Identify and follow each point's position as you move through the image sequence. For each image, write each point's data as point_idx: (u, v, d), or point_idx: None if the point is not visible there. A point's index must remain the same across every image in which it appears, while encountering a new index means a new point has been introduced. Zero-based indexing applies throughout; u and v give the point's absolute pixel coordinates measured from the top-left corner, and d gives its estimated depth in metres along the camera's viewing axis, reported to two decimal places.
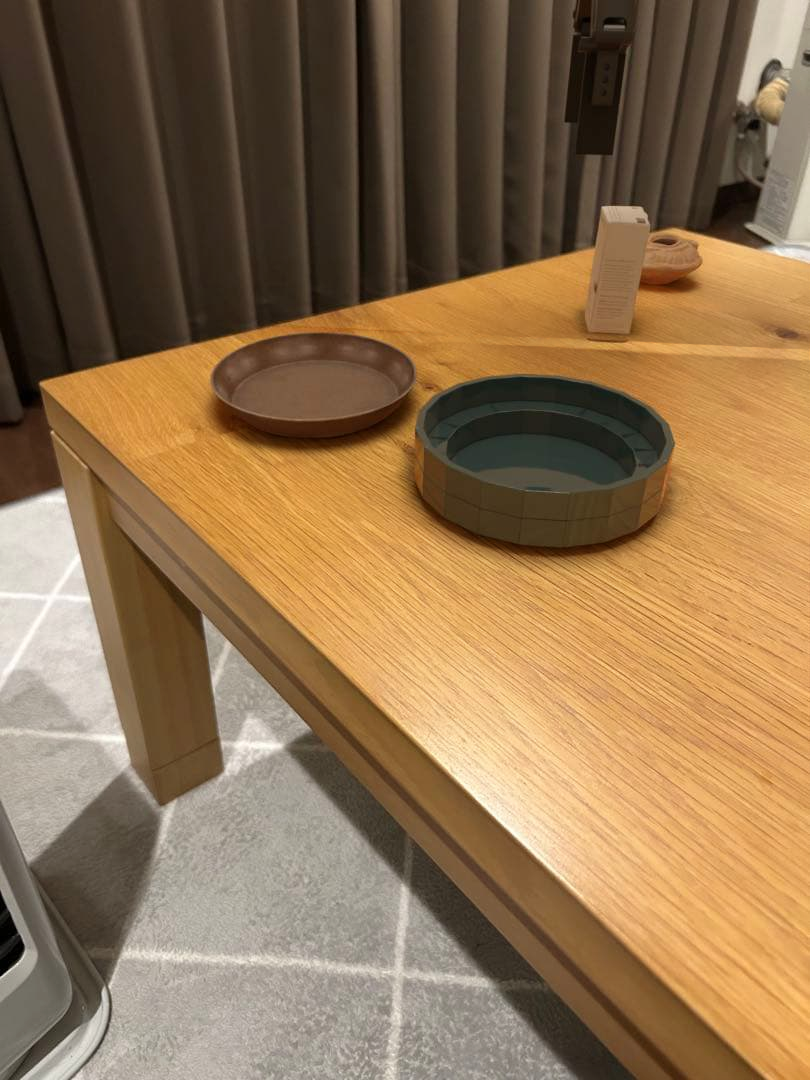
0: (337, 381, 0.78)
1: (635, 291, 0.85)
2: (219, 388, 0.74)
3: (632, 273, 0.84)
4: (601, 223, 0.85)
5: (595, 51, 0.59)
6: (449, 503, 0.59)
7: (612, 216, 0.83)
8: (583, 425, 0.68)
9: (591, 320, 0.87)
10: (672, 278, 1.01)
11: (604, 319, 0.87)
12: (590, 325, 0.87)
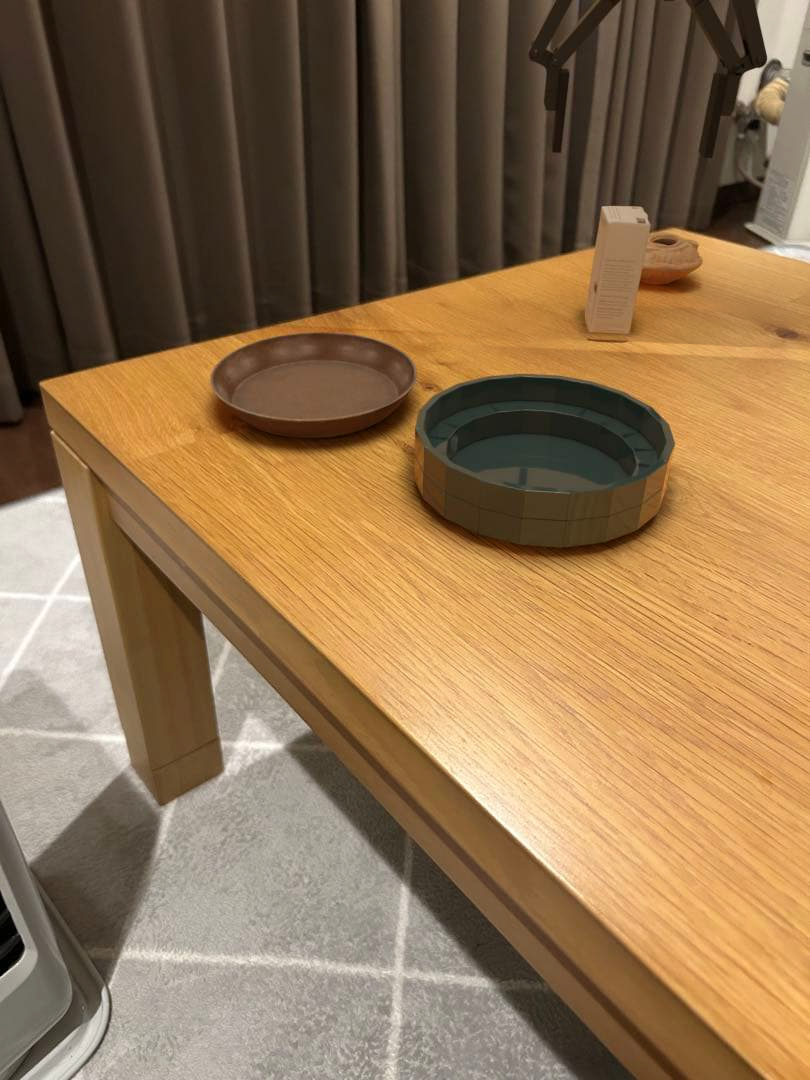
0: (337, 381, 0.78)
1: (635, 291, 0.85)
2: (219, 388, 0.74)
3: (632, 273, 0.84)
4: (601, 223, 0.85)
5: None
6: (449, 503, 0.59)
7: (612, 216, 0.83)
8: (583, 425, 0.68)
9: (591, 320, 0.87)
10: (672, 278, 1.01)
11: (604, 319, 0.87)
12: (590, 325, 0.87)
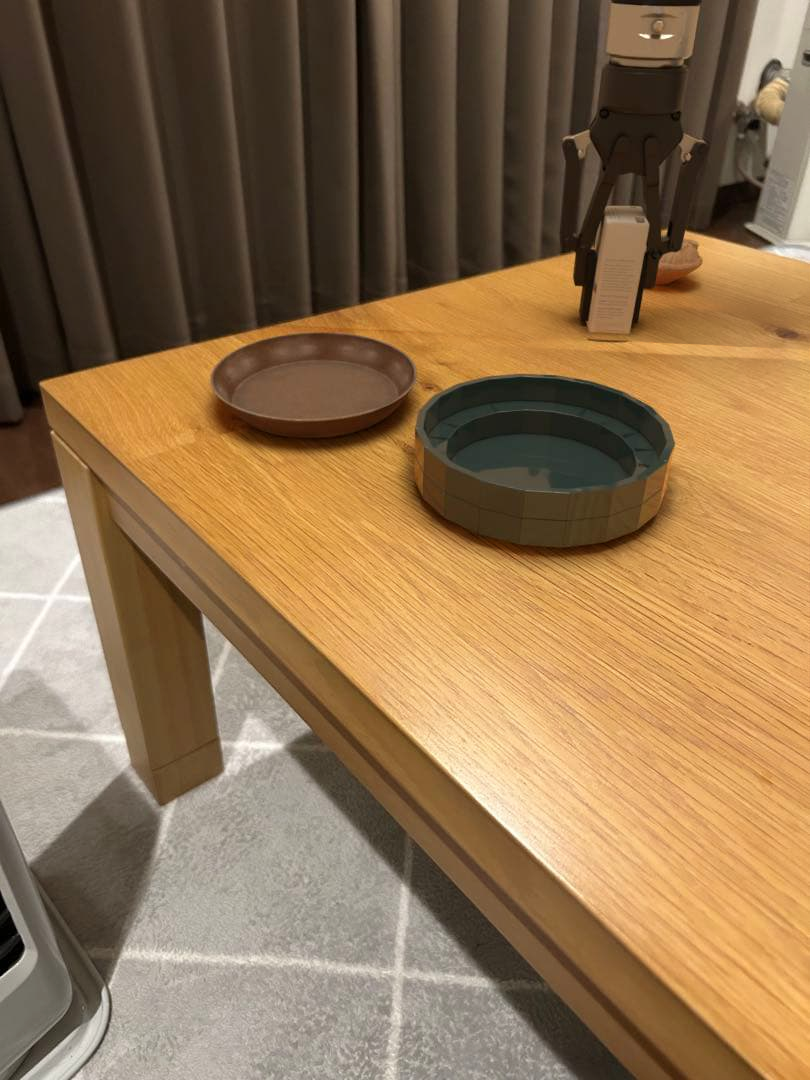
0: (337, 381, 0.78)
1: (635, 291, 0.85)
2: (219, 388, 0.74)
3: (632, 273, 0.84)
4: (600, 223, 0.85)
5: (654, 257, 0.85)
6: (449, 503, 0.59)
7: (611, 216, 0.83)
8: (583, 425, 0.68)
9: (591, 320, 0.87)
10: (672, 278, 1.01)
11: (604, 319, 0.87)
12: (590, 325, 0.87)
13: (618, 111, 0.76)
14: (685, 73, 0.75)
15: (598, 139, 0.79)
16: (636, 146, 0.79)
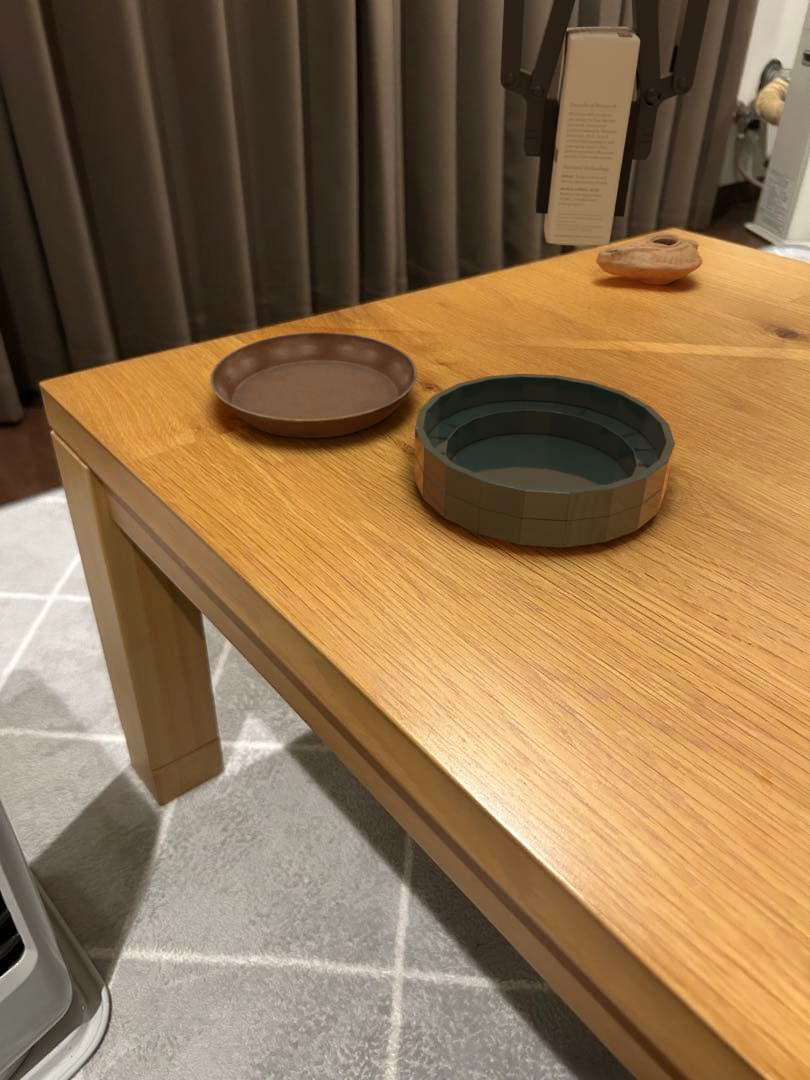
0: (337, 381, 0.78)
1: (618, 158, 0.54)
2: (219, 388, 0.74)
3: (613, 127, 0.53)
4: (564, 53, 0.54)
5: None
6: (449, 503, 0.59)
7: (578, 32, 0.51)
8: (583, 425, 0.68)
9: (551, 209, 0.56)
10: (672, 278, 1.01)
11: (571, 208, 0.56)
12: (550, 218, 0.56)
13: None
14: None
15: None
16: None
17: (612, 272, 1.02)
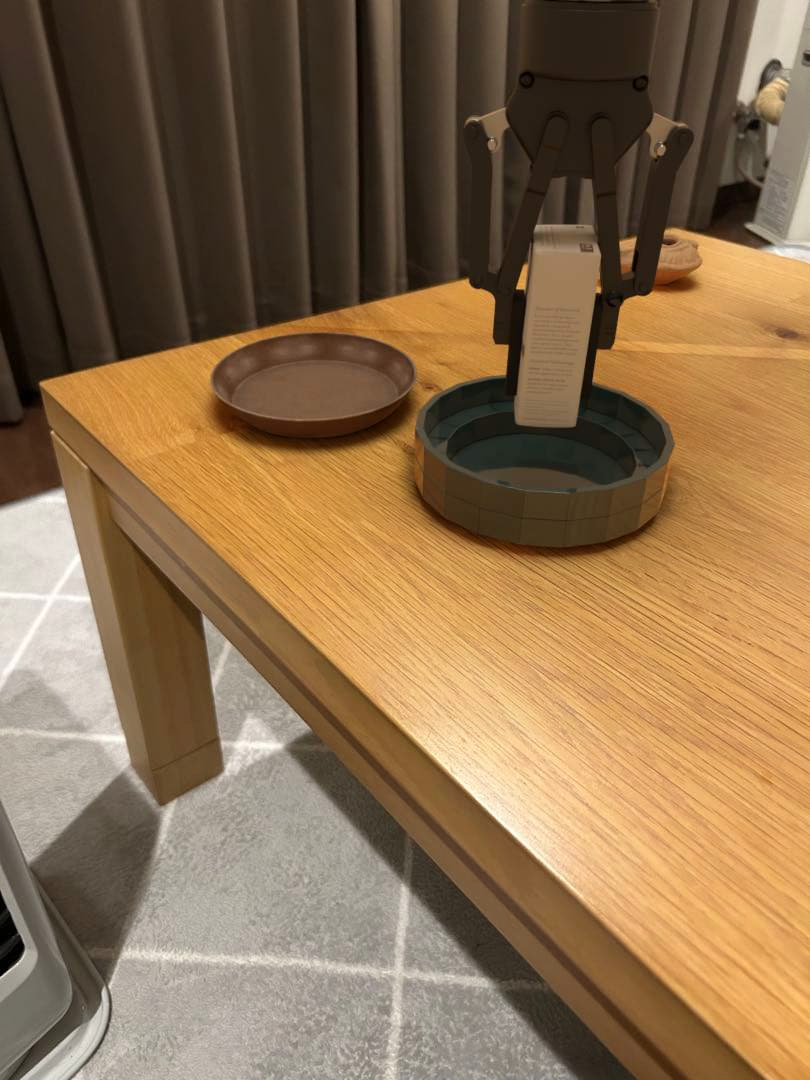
0: (337, 381, 0.78)
1: (583, 354, 0.56)
2: (219, 388, 0.74)
3: (577, 328, 0.55)
4: None
5: None
6: (449, 503, 0.59)
7: (542, 241, 0.54)
8: (583, 425, 0.68)
9: (519, 396, 0.58)
10: (672, 278, 1.01)
11: (538, 395, 0.58)
12: (518, 403, 0.58)
13: (546, 75, 0.47)
14: (653, 12, 0.46)
15: (519, 122, 0.50)
16: (579, 133, 0.50)
17: None
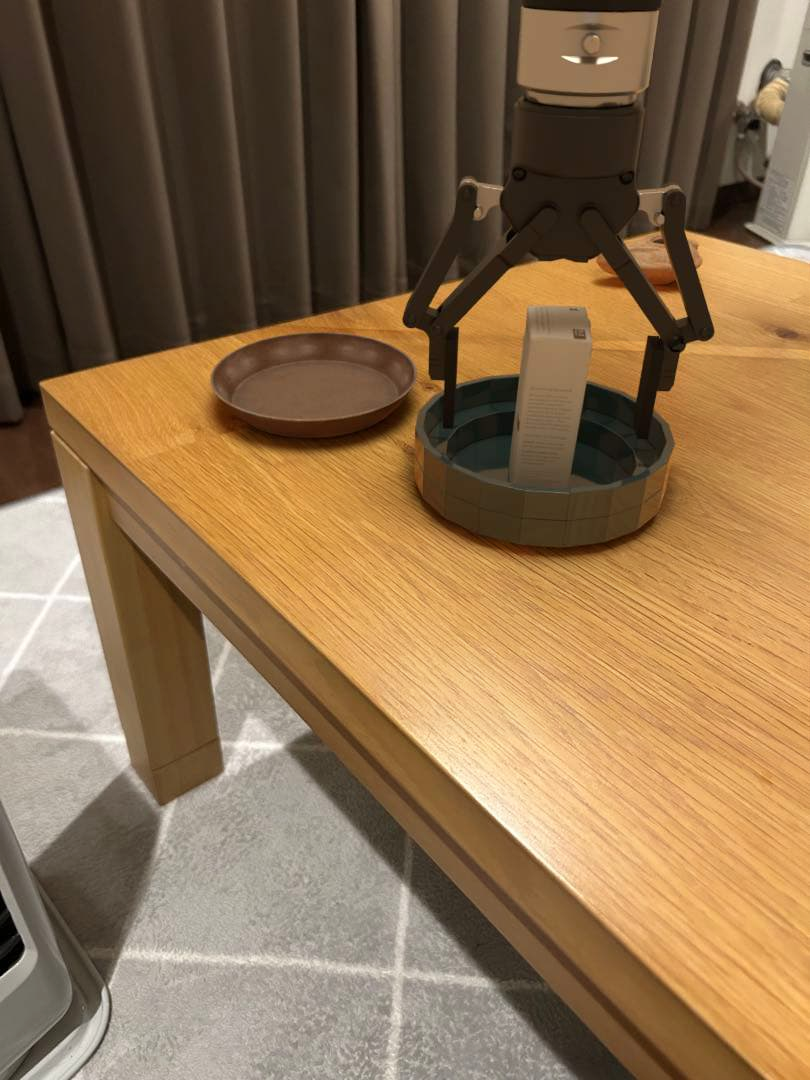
0: (337, 381, 0.78)
1: (574, 430, 0.59)
2: (219, 388, 0.74)
3: (569, 406, 0.58)
4: (526, 331, 0.59)
5: None
6: (449, 503, 0.59)
7: (538, 325, 0.57)
8: (583, 425, 0.68)
9: (514, 466, 0.61)
10: (672, 278, 1.01)
11: (532, 466, 0.61)
12: (513, 472, 0.61)
13: (537, 172, 0.50)
14: (638, 115, 0.48)
15: (509, 207, 0.53)
16: (570, 222, 0.53)
17: (612, 272, 1.02)
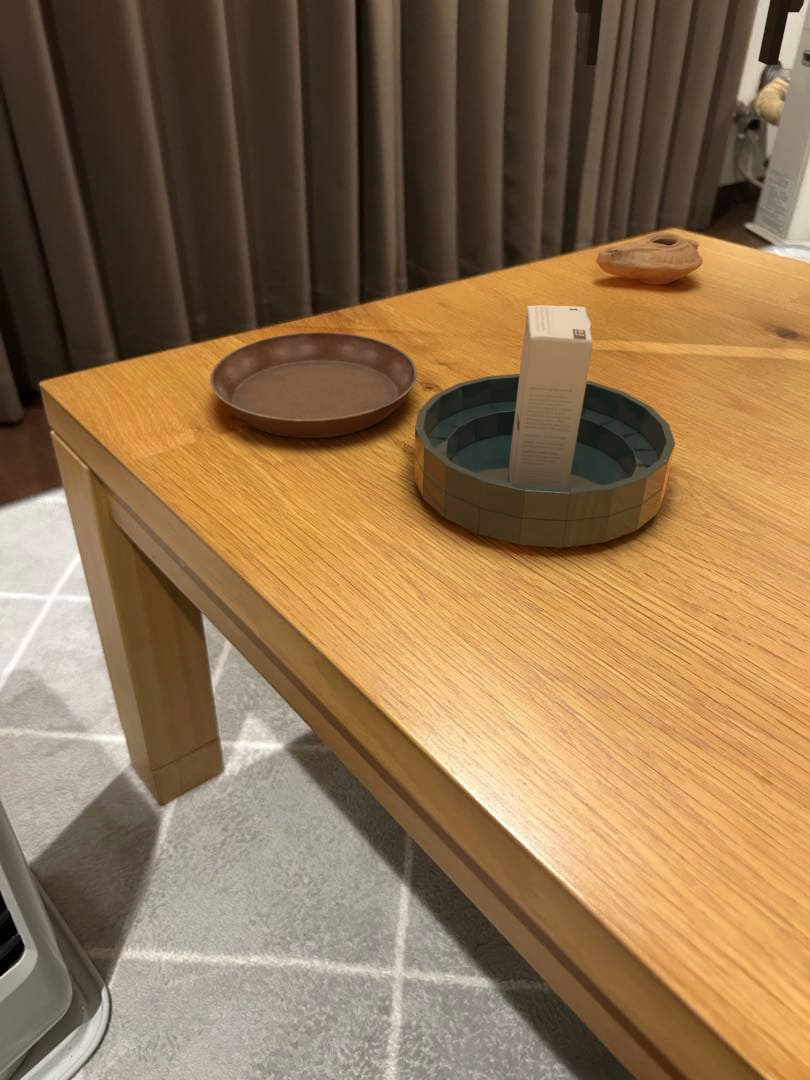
0: (337, 381, 0.78)
1: (574, 430, 0.59)
2: (219, 388, 0.74)
3: (569, 406, 0.58)
4: (526, 331, 0.59)
5: None
6: (449, 503, 0.59)
7: (538, 325, 0.57)
8: (583, 425, 0.68)
9: (514, 466, 0.61)
10: (672, 278, 1.01)
11: (532, 466, 0.61)
12: (513, 472, 0.61)
13: None
14: None
15: None
16: None
17: (612, 272, 1.02)
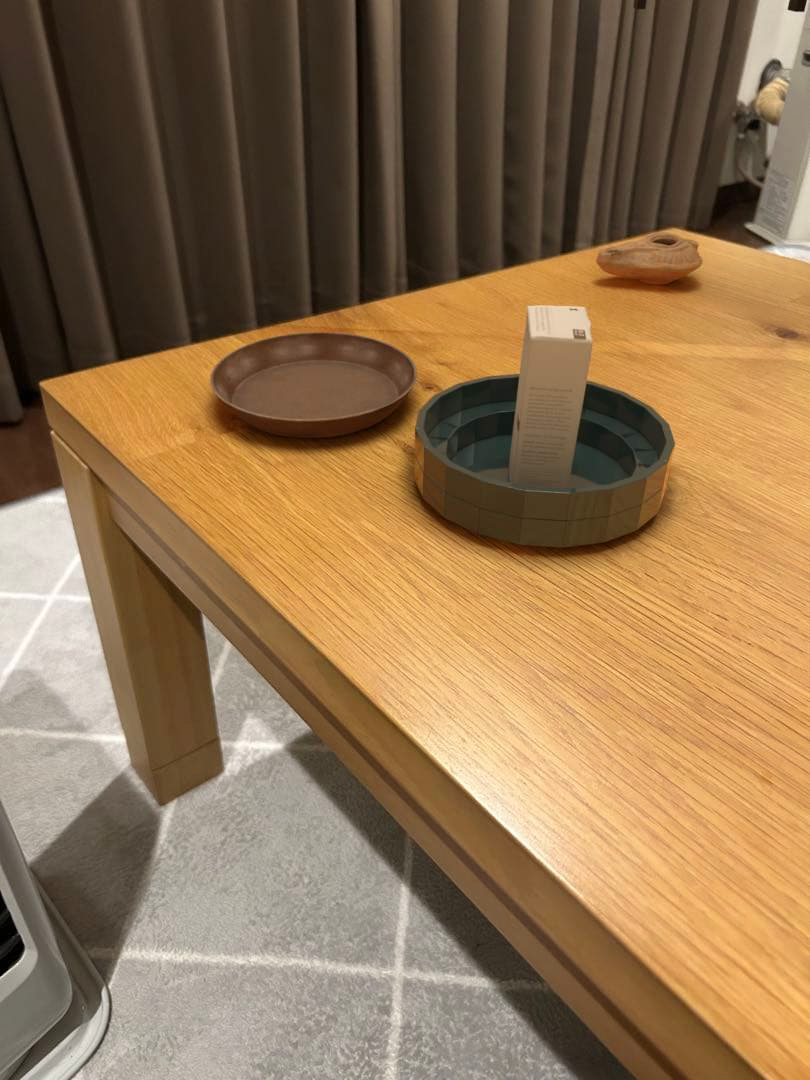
0: (337, 381, 0.78)
1: (574, 430, 0.59)
2: (219, 388, 0.74)
3: (569, 406, 0.58)
4: (526, 331, 0.59)
5: None
6: (449, 503, 0.59)
7: (538, 325, 0.57)
8: (583, 425, 0.68)
9: (514, 466, 0.61)
10: (672, 278, 1.01)
11: (532, 466, 0.61)
12: (513, 472, 0.61)
13: None
14: None
15: None
16: None
17: (612, 272, 1.02)
